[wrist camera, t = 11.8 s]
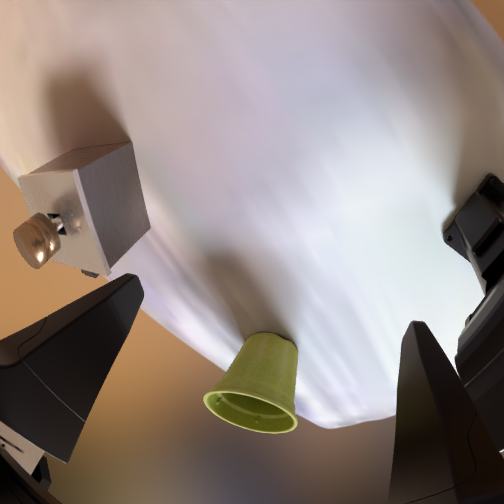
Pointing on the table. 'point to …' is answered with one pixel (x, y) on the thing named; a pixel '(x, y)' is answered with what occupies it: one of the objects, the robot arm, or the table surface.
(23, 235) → the bronze domed cylinder
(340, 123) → the table surface
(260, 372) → the plant pot
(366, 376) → the table surface
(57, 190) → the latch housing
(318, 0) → the table surface
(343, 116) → the table surface
